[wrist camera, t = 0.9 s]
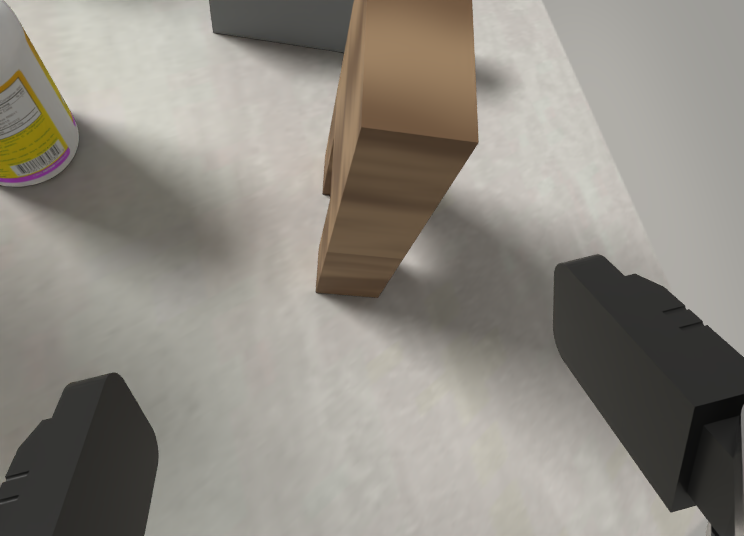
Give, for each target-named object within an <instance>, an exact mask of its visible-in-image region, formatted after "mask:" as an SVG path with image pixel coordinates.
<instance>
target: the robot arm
mask: <svg viewBox="0 0 744 536" xmlns="http://www.w3.org/2000/svg"><path fill="white" fill-rule="evenodd" d="M553 332H554V338H555V342H556V345H557V348H558V351H559V353H560V355H561V357H562V359H563V361H564V362H565V364H566V365H567V366H568V368H569V369H570V371H571V372H572V374H573V375H574V376H575V378H576V379H577V381H578V382H579V383H580V385H581V386H582V388H583V389H584V391H585V392H586V393H587V395H588V396H589V398H590V399H591V400H592V402H593V403H594V405H595V406H596V408H597V409H598V410H599V412H600V413H601V415H602V416H603V417H604V419H605V420H606V422H607V423H608V425H609V426H610V427H611V429H612V430H613V432H614V433H615V434H616V436H617V437H618V439H619V440H620V442H621V443H622V444H623V446H624V447H625V449H626V450H627V451H628V453H629V454H630V456H631V457H632V459H633V460H634V461H635V463H636V464H637V466H638V467H639V468H640V470H641V471H642V473H643V474H644V476H645V477H646V478H647V480H648V481H649V483H650V484H651V485H652V487H653V488H654V490H655V491H656V493H657V494H658V495H659V497H660V498H661V500H662V501H663V502H664V504H665V505H666V507H667V508H668V510H669V511H670V512H675V511H678V510H682V509H685V508H689V507H693V506H696V505H697V507H698V508H699V509H700V511H701V512H702V513H703V515H704V516H705V517H706V519H707V520H708V524H707V528H706V536H744V357H743V356H742V355H740V354H739V353H738V352H737V351H736V350H735V349H734V348H733V347H731V346H730V345H729V344H728V343H727V342H726V341H724V340H723V339H722V338H721V337H720V336H719V335H718V334H717V333H716V332H714V331H713V330H712V329H711V328H710V327H709V326H708V325H706V326H704V325H703V321H702V320H700V319H699V317H697V316H696V315H695V314H694V313H693V312H692V311H691V310H689V309H688V310H686V308H685V305H684V304H683V303H682V302H680V301H679V300H678V299H677V298H676V297H675V296H674V295H672V294H671V293H670V292H669V291H668V290H667V289H666V288H665V287H663V286H661V285H659V284H656V283H654V282H652V281H650V280H648V279H645V278H643V277H641V276H639V275H637V274H632V275H628V276H624V275H623V274H622V273H621V272H620V271H619V270H618V269H617V268H616V267H615V266H613V265H612V264H611V263H610V262H609V261H608V260H607V259H606V258H605V257H604V256H602V255H599V254H597V255H592V256H588V257H584V258H580V259H576V260H572V261H568V262H564V263H560V264H558V265H557V266H556V268H555V271H554V306H553ZM157 466H158V445H157V440H156V436H155V433H154V431H153V429H152V427H151V425H150V423H149V422H148V420H147V418H146V417H145V415H144V413H143V412H142V410H141V408H140V406H139V405H138V403H137V401H136V400H135V398H134V396H133V395H132V393H131V391H130V389H129V388H128V386H127V384H126V383H125V381H124V380H123V378H122V377H121V376H120V375H119V374H117V373H109V374H105V375H101V376H97V377H93V378H89V379H85V380H81V381H77V382H73V383H70V384H68V385H67V386H66V387H65V389H64V391H63V393H62V395H61V398H60V400H59V402H58V405H57V407H56V409H55V412H54V414H53V417H52V418H50V419H46V420H42V421H41V423H40V424H39V425H38V426H37V427H36V428H35V430H34V431H33V432H32V433H31V434H30V435H29V437H28V438H27V439H26V440H25V441H24V442H23V444H22V445H21V446H20V447H19V448H18V451H17V453H16V455H15V457H14V459H13V461H12V463H11V466H10V468H9V470H8V472H7V474H6V476H5V477H6V482H3V483H2V485H1V487H0V536H144V534H145V529H146V524H147V519H148V513H149V508H150V503H151V498H152V492H153V487H154V482H155V477H156V471H157Z"/></svg>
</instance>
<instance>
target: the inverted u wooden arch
mask: <svg viewBox="0 0 744 536" xmlns="http://www.w3.org/2000/svg"><path fill="white" fill-rule="evenodd" d="M478 143H479V141H478V119H477V98H476V76H475V54H474V32H473V10H472V0H354V3H353V8H352V14H351V19H350V25H349V30H348V35H347V41H346V46H345V52H344V57H343V62H342V68H341V73H340V79H339V84H338V89H337V95H336V100H335V106H334V111H333V116H332V122H331V127H330V133H329V138H328V143H327V149H326V154H325V166H324V180H323V194H326V195H331V196H330V203H329V207H328V211H327V216H326V220H325V224H324V228H323V233H322V237H321V241H320V245H319V252H318V267H317V281H316V293H327V294H339V295H351V296H363V297H375V298H378V297H379V295H380V294H381V292H382V291H383V289H384V288H385V286H386V285H387V283H388V281H389V280H390V278H391V277H392V275H393V274H394V272H395V271H396V269H397V268H398V266H399V265H400V263H401V261H402V260H403V258H404V257H405V255H406V254H407V252H408V251H409V249H410V248H411V246H412V244H413V243H414V241H415V240H416V238H417V237H418V235H419V234H420V232H421V231H422V229H423V228H424V226H425V224H426V223H427V221H428V220H429V218H430V217H431V215H432V214H433V212H434V211H435V209H436V207H437V206H438V204H439V203H440V201H441V200H442V198H443V197H444V195H445V194H446V192H447V191H448V189H449V187H450V186H451V184H452V183H453V181H454V180H455V178H456V177H457V175H458V174H459V172H460V170H461V169H462V167H463V166H464V164H465V163H466V161H467V160H468V158H469V157H470V155H471V154H472V152H473V150H474V149H475V147H476V146H477V144H478Z"/></svg>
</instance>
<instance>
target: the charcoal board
mask: <svg viewBox="0 0 744 536" xmlns="http://www.w3.org/2000/svg"><path fill="white" fill-rule="evenodd" d="M353 3H354V0H209V4H210V12H211V20H212V28H213V33H220V34H226V35H233V36H239V37H246V38H252V39H259V40H265V41H272V42H279V43H285V44H292V45H298V46H305V47H311V48H318V49H324V50H331V51H337V52H345V46H346V41H347V35H348V30H349V25H350V19H351V14H352V8H353Z"/></svg>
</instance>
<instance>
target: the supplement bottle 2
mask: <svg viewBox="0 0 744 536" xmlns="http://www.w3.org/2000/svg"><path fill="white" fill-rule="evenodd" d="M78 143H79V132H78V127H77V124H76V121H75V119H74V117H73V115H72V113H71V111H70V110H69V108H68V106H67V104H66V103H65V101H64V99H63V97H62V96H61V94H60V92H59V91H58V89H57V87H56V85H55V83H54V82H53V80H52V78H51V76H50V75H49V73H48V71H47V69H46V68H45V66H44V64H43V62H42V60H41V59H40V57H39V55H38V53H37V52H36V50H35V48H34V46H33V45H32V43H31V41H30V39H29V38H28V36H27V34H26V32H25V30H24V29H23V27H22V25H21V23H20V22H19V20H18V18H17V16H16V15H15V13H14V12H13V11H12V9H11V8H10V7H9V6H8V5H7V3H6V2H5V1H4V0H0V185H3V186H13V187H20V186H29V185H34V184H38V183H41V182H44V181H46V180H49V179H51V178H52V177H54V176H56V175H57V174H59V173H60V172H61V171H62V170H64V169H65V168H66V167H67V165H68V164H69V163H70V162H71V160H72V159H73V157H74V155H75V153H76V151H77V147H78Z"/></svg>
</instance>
